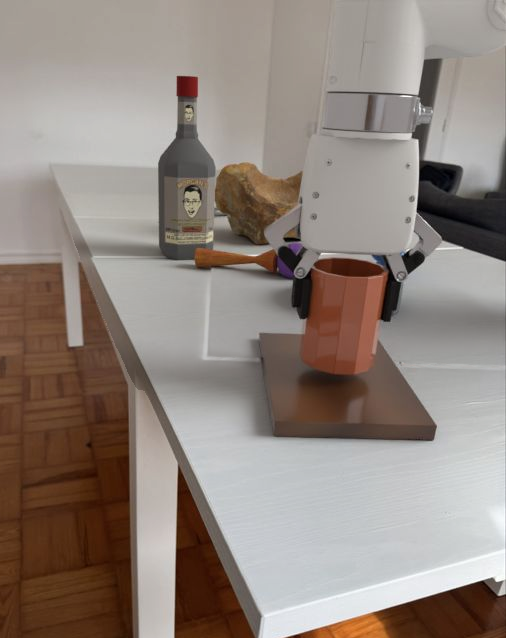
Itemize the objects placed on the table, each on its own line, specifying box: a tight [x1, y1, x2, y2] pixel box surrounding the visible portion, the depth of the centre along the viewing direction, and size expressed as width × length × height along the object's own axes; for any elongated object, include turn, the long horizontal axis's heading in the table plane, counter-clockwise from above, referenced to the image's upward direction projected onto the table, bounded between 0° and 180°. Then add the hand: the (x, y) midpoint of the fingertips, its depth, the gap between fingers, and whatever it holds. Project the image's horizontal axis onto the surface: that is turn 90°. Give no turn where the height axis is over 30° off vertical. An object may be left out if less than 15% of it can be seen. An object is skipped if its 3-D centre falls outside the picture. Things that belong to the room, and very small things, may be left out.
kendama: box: [194, 242, 302, 280], centre depth 92 cm, size 6×6×20 cm
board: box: [258, 332, 438, 441], centre depth 56 cm, size 14×20×2 cm
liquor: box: [157, 75, 217, 261], centre depth 97 cm, size 9×9×30 cm
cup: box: [300, 256, 389, 375], centre depth 53 cm, size 7×7×10 cm
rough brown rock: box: [215, 162, 303, 245], centre depth 115 cm, size 23×17×15 cm
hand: (342, 314), depth 53 cm, fingers closed on cup, 7 cm apart
